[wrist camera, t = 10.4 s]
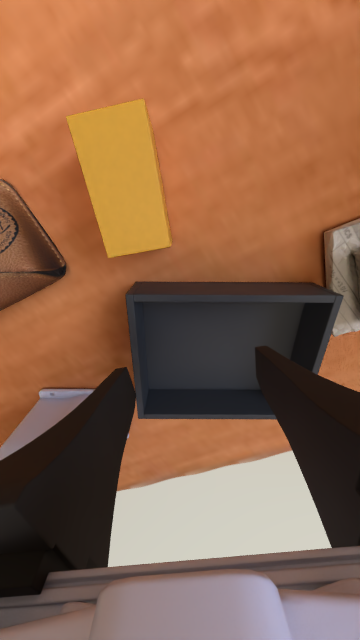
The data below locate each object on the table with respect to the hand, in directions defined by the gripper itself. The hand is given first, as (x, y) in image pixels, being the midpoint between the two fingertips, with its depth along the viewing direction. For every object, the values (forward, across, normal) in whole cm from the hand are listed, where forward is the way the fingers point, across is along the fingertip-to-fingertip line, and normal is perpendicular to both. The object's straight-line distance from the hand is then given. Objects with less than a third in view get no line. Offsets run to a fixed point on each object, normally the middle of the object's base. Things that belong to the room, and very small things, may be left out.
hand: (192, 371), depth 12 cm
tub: (+9, -3, +4) cm, 10 cm away
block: (+9, +2, -10) cm, 14 cm away
